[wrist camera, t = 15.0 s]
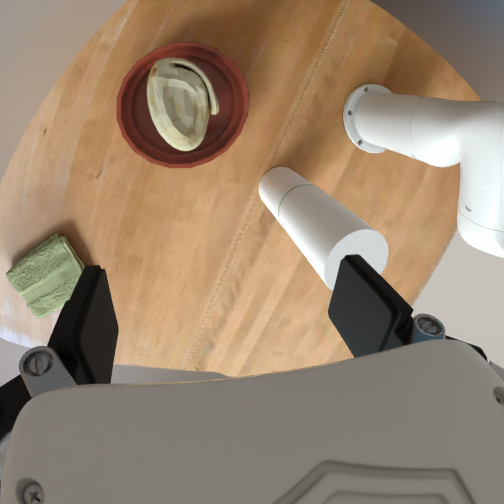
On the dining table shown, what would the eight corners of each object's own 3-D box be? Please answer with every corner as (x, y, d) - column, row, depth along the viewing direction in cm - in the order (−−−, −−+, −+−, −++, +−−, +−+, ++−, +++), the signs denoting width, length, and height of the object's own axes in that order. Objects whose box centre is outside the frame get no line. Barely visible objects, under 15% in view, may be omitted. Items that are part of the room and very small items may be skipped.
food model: (152, 81, 36) (126, 62, 18) (197, 67, 36) (206, 38, 19) (170, 141, 41) (158, 169, 23) (213, 128, 41) (235, 145, 24)
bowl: (244, 52, 37) (253, 45, 32) (236, 160, 45) (244, 168, 40) (128, 53, 33) (120, 46, 28) (125, 162, 41) (117, 171, 36)
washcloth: (103, 285, 49) (99, 295, 47) (42, 314, 49) (37, 324, 46) (64, 226, 43) (58, 234, 40) (5, 265, 42) (-2, 274, 40)
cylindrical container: (270, 215, 50) (335, 307, 29) (251, 180, 47) (313, 254, 25) (306, 195, 50) (393, 271, 28) (290, 159, 46) (380, 215, 25)
